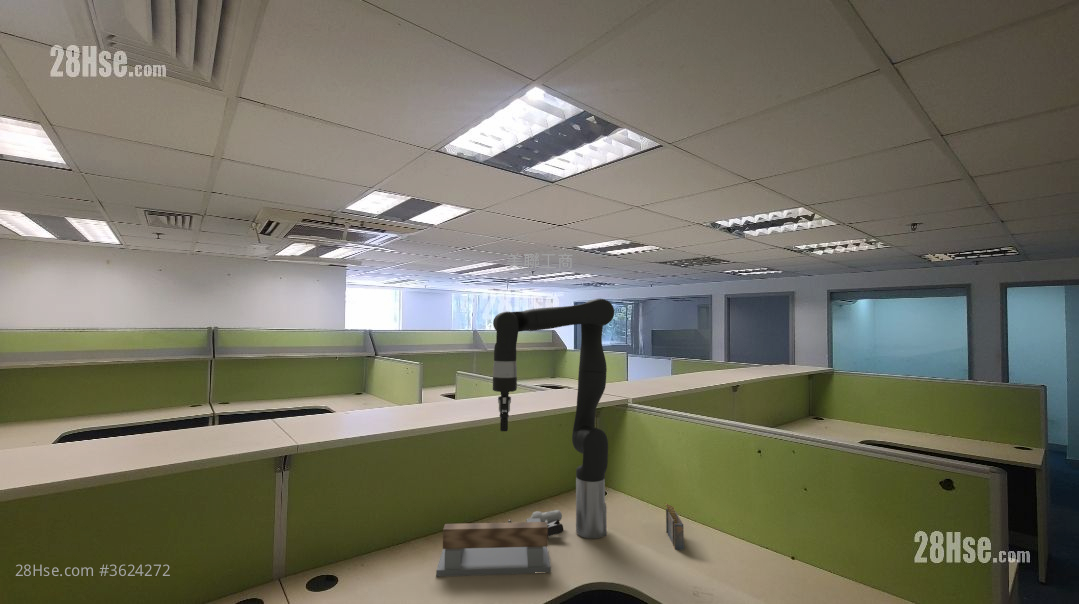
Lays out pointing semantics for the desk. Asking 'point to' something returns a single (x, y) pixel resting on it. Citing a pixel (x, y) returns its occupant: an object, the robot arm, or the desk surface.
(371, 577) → the desk surface
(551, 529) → the clip-on lamp
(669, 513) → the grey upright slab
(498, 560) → the notch rack
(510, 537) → the wooden plank
